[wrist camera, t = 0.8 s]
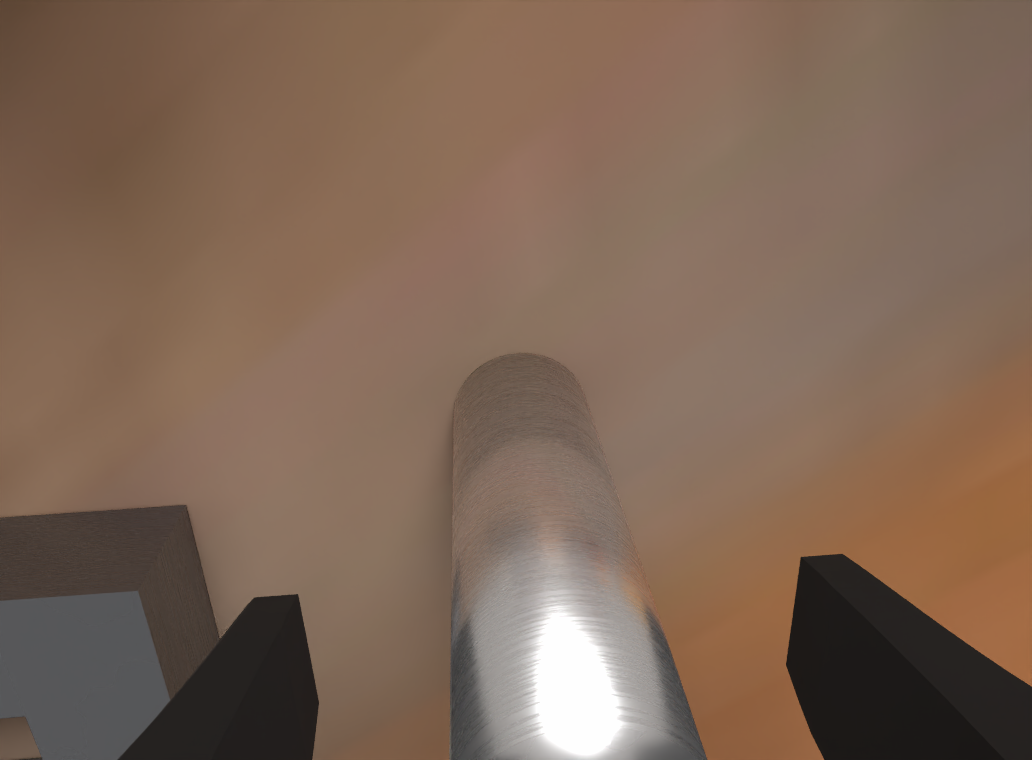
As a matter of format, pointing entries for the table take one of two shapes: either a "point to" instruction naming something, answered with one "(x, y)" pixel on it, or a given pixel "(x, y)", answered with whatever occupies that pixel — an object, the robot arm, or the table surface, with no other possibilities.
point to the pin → (550, 585)
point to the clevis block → (98, 624)
